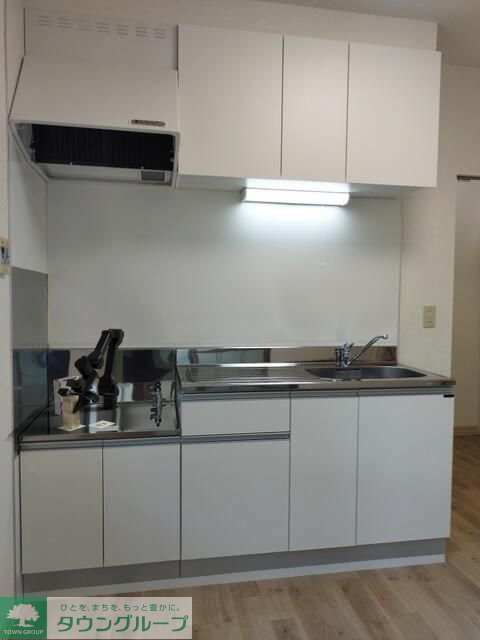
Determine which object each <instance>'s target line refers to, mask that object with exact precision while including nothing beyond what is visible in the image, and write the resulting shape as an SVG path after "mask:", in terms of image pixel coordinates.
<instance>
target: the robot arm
mask: <svg viewBox="0 0 480 640" xmlns="http://www.w3.org/2000/svg"><path fill="white" fill-rule="evenodd" d="M124 338H125V331H123V329H122V328H108V329H103V330H101V333H100V337H99V339H98V341H97V342H96V343H97V344H96V345H95V347H94V350H93V351H92V352H90V353H89V354H88V355H81V357H79V358H78V359H76V360H75V361H74V366H73V367H75V369H76V371H78V373H79V375H81V377H79V379H77V380H75V379H67V382H66V386H68V387H71V390H73V392H71V391H70V390H69V389H68V388H59V390H58V392H57V393H58V394H59V395H60V396H61V397H64V396H68V395H78V402H77V404H76V406H75V408H74V410H73V414H75V413H77V412H78V411H79V410H80V411H82V409H84V408H85V407H87V406H88V405H91V404H99V402H100V401H101V400H100V397H101V399H102V406H100V407H99V408H100V409H104V410H113V409H116V408H117V409H118V408H119V407H120V406H119V405H118V403H117V402H118V401H117V397H118V396H120V393H121V391H120V388H119V386H118V385H117V379H116V376H115V371H116V367H117V366H116V364H117V358H118V350H119V347H120V346H121V345H122V343H123V341H124ZM105 354H106V359H104V357H105ZM104 365H105V366H104ZM103 367H104V370H103V371H104V372H103V375H101V376H100V375H99V372H98V371H97V370H102V369H103ZM96 379H98V384H97V393H96V391H95V390H93V389H94V387H93V384H94V382H95V381H96ZM80 411H79V412H80Z"/></svg>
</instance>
